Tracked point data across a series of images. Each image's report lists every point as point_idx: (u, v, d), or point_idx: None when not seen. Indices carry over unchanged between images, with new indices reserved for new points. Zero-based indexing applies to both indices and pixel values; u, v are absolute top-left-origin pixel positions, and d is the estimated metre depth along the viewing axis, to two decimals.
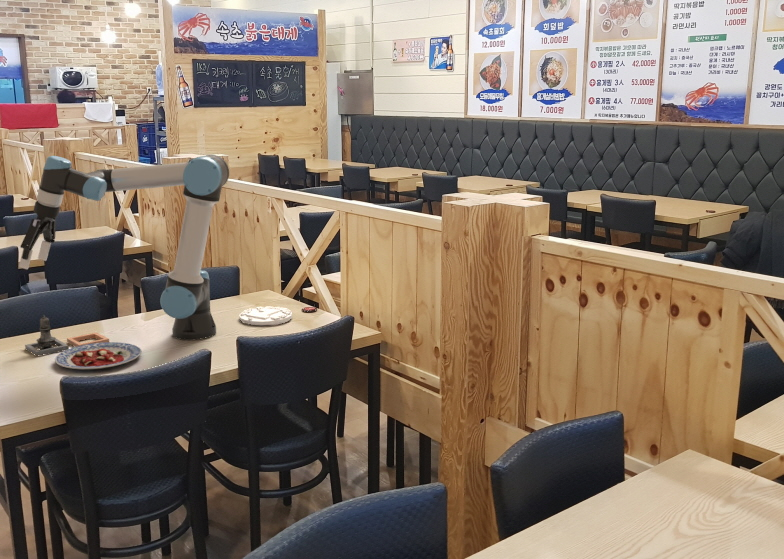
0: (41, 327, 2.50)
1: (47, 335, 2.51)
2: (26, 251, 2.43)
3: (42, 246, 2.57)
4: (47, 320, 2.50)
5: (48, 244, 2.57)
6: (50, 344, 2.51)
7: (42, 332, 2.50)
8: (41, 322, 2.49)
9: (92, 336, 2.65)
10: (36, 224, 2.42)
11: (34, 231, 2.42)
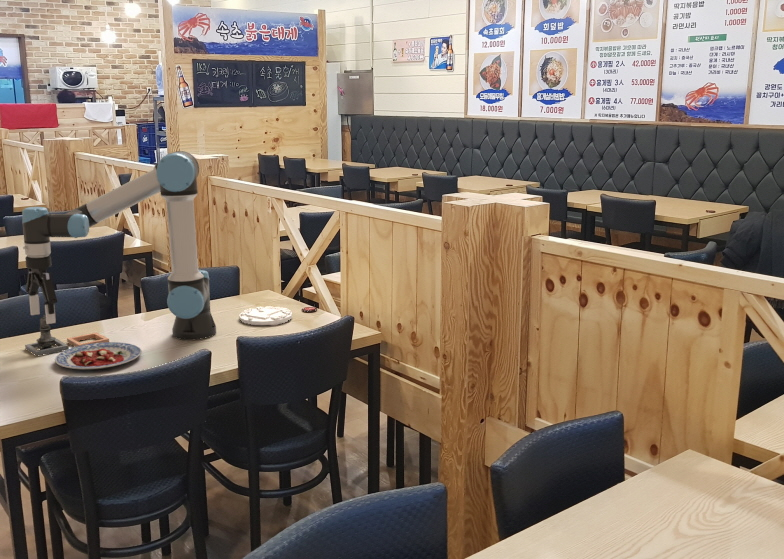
0: (41, 327, 2.50)
1: (47, 335, 2.51)
2: (52, 305, 2.43)
3: (32, 301, 2.53)
4: None
5: (37, 297, 2.54)
6: (50, 344, 2.51)
7: (42, 332, 2.50)
8: (41, 322, 2.49)
9: (92, 336, 2.65)
10: (49, 276, 2.43)
11: (51, 283, 2.43)
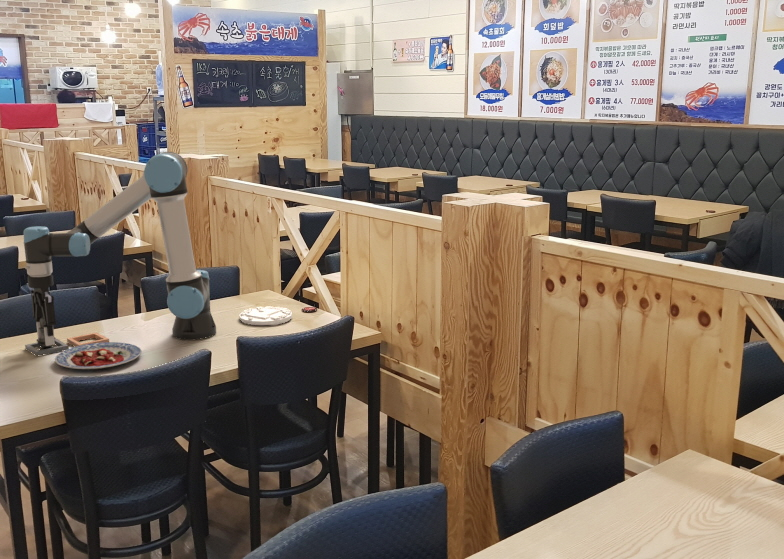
0: (41, 327, 2.50)
1: None
2: (51, 327, 2.48)
3: None
4: None
5: None
6: None
7: (42, 332, 2.50)
8: (41, 322, 2.49)
9: (92, 336, 2.65)
10: (51, 300, 2.45)
11: (52, 306, 2.46)
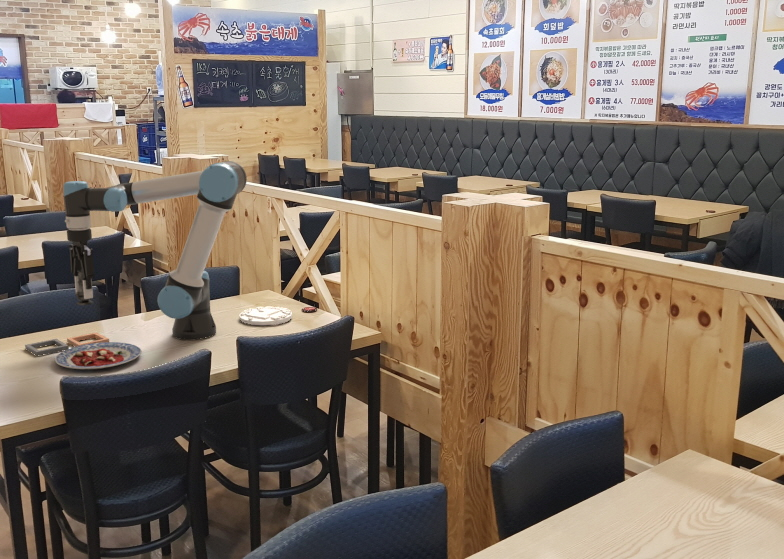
0: (79, 280, 2.54)
1: None
2: (89, 281, 2.52)
3: (77, 282, 2.57)
4: None
5: None
6: None
7: (80, 285, 2.54)
8: (79, 275, 2.54)
9: (92, 336, 2.65)
10: (90, 253, 2.49)
11: (91, 259, 2.50)
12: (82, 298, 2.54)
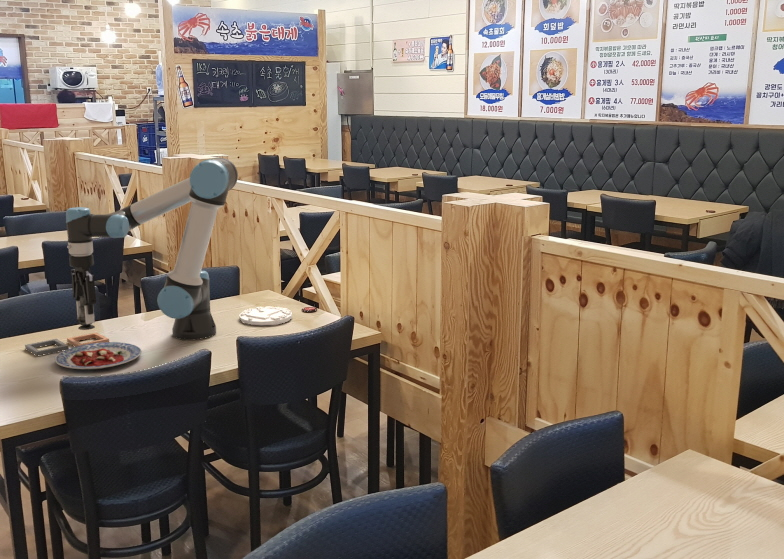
0: (81, 305, 2.56)
1: None
2: (91, 306, 2.54)
3: (79, 306, 2.59)
4: None
5: None
6: None
7: (82, 310, 2.56)
8: (81, 300, 2.56)
9: (92, 336, 2.65)
10: (92, 279, 2.51)
11: (93, 285, 2.52)
12: (84, 323, 2.56)
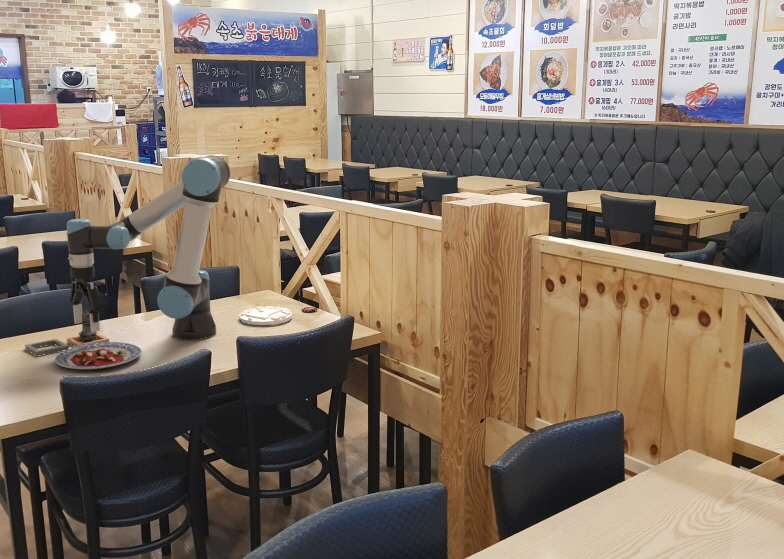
0: (83, 321, 2.57)
1: (89, 328, 2.58)
2: (96, 314, 2.52)
3: (75, 310, 2.62)
4: (89, 314, 2.58)
5: (80, 306, 2.63)
6: (92, 337, 2.58)
7: (84, 326, 2.58)
8: (83, 316, 2.57)
9: None
10: (94, 286, 2.51)
11: (96, 293, 2.51)
12: (86, 338, 2.57)
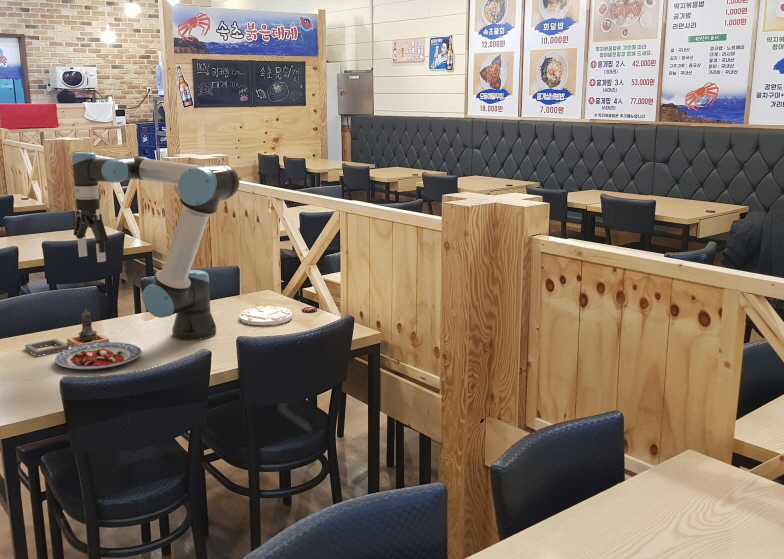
0: (83, 321, 2.57)
1: (89, 328, 2.58)
2: (103, 244, 2.59)
3: (80, 243, 2.68)
4: (89, 314, 2.58)
5: (84, 239, 2.69)
6: (92, 337, 2.58)
7: (84, 326, 2.58)
8: (83, 316, 2.57)
9: None
10: (100, 217, 2.58)
11: (102, 223, 2.58)
12: (85, 338, 2.57)
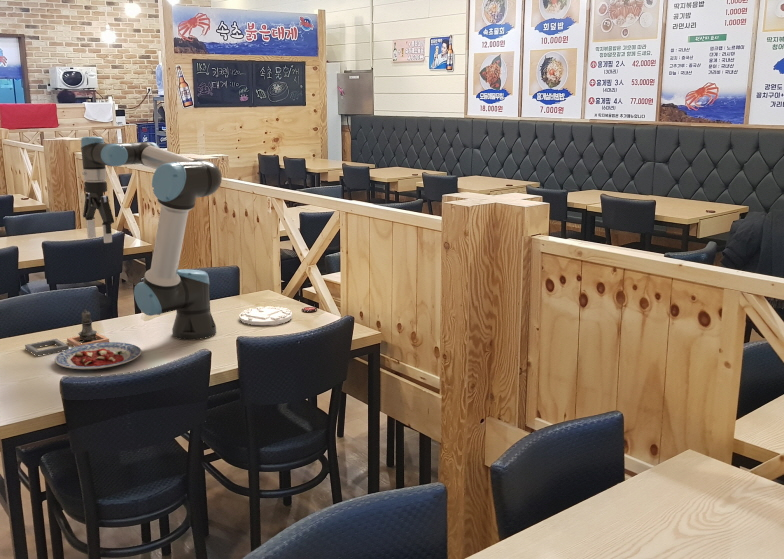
0: (83, 321, 2.57)
1: (89, 328, 2.58)
2: (109, 225, 2.68)
3: (89, 225, 2.77)
4: (89, 314, 2.58)
5: (93, 221, 2.78)
6: (92, 337, 2.58)
7: (84, 326, 2.58)
8: (83, 316, 2.57)
9: None
10: (106, 199, 2.67)
11: (108, 205, 2.67)
12: (86, 338, 2.57)
